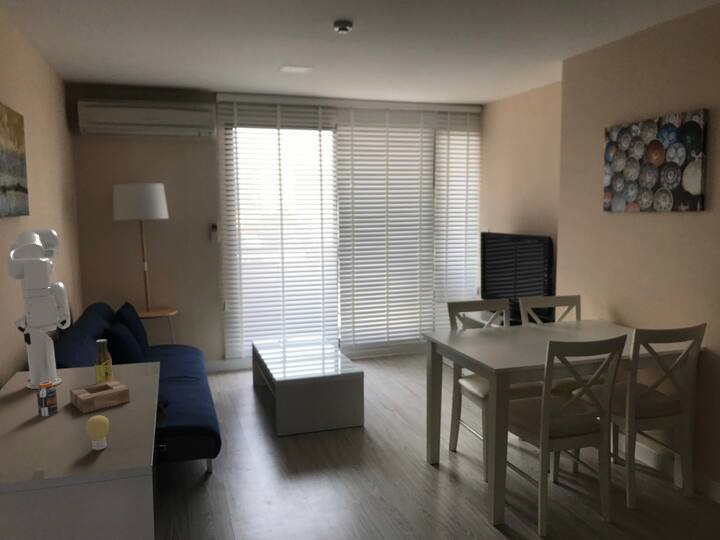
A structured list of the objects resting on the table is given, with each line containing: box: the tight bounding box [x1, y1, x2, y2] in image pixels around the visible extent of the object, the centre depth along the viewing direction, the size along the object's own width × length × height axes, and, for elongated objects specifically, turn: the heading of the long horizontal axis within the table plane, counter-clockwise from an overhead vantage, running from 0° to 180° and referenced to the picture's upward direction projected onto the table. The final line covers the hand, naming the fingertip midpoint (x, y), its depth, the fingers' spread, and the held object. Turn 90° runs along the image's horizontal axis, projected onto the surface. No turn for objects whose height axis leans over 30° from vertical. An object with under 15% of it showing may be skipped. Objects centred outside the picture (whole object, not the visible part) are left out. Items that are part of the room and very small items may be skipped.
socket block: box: [69, 378, 131, 414], centre depth 210 cm, size 16×16×5 cm
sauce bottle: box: [93, 338, 114, 384], centre depth 224 cm, size 6×6×20 cm
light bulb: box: [85, 414, 110, 451], centre depth 168 cm, size 6×6×10 cm
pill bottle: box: [36, 381, 59, 417], centre depth 200 cm, size 6×6×11 cm
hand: (44, 341), depth 201 cm, fingers open, 9 cm apart
